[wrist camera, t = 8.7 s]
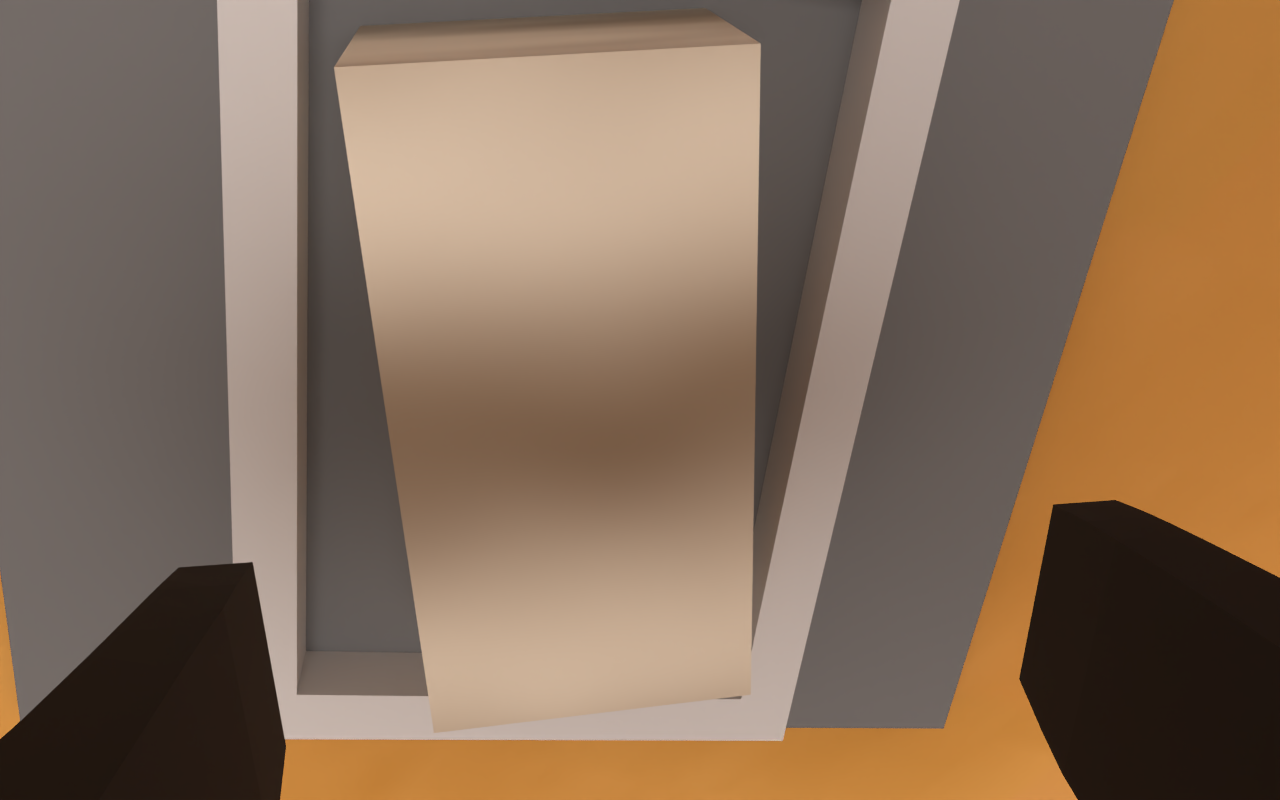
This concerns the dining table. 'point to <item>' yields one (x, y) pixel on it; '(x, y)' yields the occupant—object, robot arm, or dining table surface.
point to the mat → (348, 364)
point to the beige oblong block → (565, 349)
